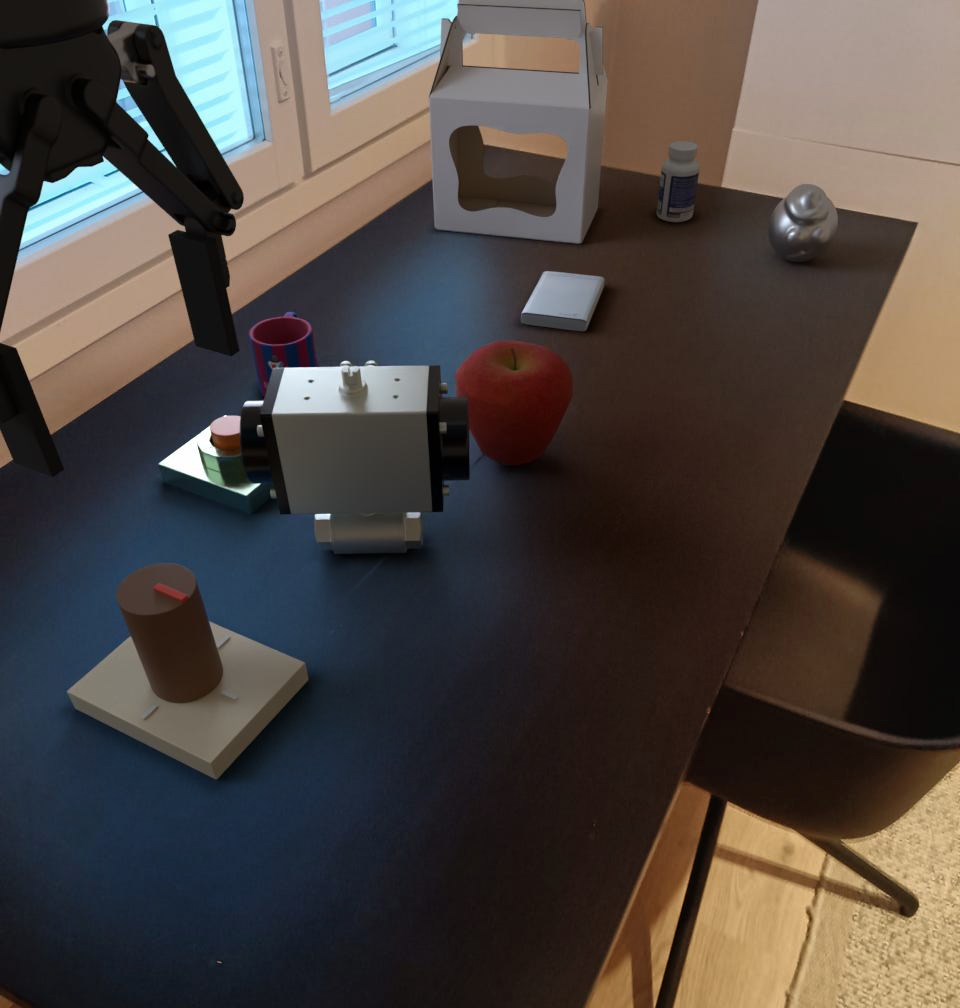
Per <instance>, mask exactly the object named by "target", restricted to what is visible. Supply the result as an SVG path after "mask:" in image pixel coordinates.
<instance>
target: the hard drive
mask: <svg viewBox="0 0 960 1008" xmlns="http://www.w3.org/2000/svg"><path fill="white" fill-rule="evenodd" d="M604 288H605V277H603V276H598V275H591V274H590V275H589V274H581V273H571V272H562V271H552V270H551V271H550V270H546V271H542V274H541V276H540V277H539V279H538V282H537V284H536V286H535V287H534V289H533V291H532V292H531V295H530V297H529V299H528V300H527V301H526V304H525V306H524V307H523V310H522V311H521V315H520V322H521V323H522V324H524V325H527V326H528V325H529V326H534V327H535V326H536V327H546V328H551V329H559V330H567V331H574V332H586V331H587V329H588V327H589V325H590V322H591V320H592V317H593V314H594V313H595V310H596V307H597V305H598V302H599V300H600V298H601V295H602V292H603V291H604Z"/></svg>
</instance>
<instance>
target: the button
mask: <svg viewBox="0 0 960 1008" xmlns="http://www.w3.org/2000/svg"><path fill="white" fill-rule="evenodd" d="M223 416H224V417H223ZM223 416H221V417H218V418H217V419H215V420H213V421H212V422H211V423H210V425H209V426H210V432H211V436H212V440H213V444H214V446H215V447H216V448H218V449H221V450H234V449H237V448H240V417H241V415H233V414H232V415H226V416H225V415H223Z"/></svg>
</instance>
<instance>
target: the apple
mask: <svg viewBox="0 0 960 1008" xmlns="http://www.w3.org/2000/svg"><path fill="white" fill-rule="evenodd" d="M454 377H455V397H467V398H468V406H469V433H470V434H471V436H472V438H473V439H474V441H475V443H476V445H477V447H478V448H479V450H480V452H481V453H482V454H483V455H484V456H486V457H487V458H489V459H491V460H492V461H494V462H496V463H498V464H501V465H504V466H512V467H513V466H514V467H515V466H522V465H525V464H528V463H530V462H533V461H535V460H537V459H538V458H539V457H540V456H542V455H543V454H544V453H545V451H546V450H547V449H548V447H549V444H550V443H551V441H552V440H553V438H554V437H555V435H556V433H557V432H558V429H559V427H560V425H561V423H562V421H563V419H564V416H565V415H566V413H567V410H568V408H569V406H570V403H571V400H572V398H573V396H574V388H573V387H574V386H573V385H574V384H573V375H572V372H571V369H570V367H569V364H568V363H567V362H566V361H565V360H564V359H563V358H562V357H561V356H560V355H559V354H558V353H556V352H555V351H553V350H552V349H550V348H549V347H547V346H543V345H539V344H536V343H531V342H525V341H520V340H497V341H494V342H491V343H488V344H485V345H483V346H481V347H480V348H478V349H476V350H475V351H473V352H471V354H470V355H468V356H467V358H465V360H464V361H463V362H462V363H461V365H460V366H459V368H458V369H457V370H456V372H455V373H454Z"/></svg>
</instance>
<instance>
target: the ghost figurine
mask: <svg viewBox="0 0 960 1008" xmlns="http://www.w3.org/2000/svg"><path fill="white" fill-rule="evenodd" d="M838 227H839V216H838V212H837V208H836V206H835V204H834V203H833V201H832V200H831V199H830V197H829V196H827V194H826V192H825V190H824V189H822V188H821V187H819V186H818V185H815V184H811V183H803V184H802V183H801V184H799V185H797V186H795V187H794V188H793V189H792V190H791V191H789V193H788V194H787V195H786V196H785V197H784V198H783V199H782V200H780V201H779V202H778V204H777V205H776V207H774V209H773V210H772V213H771V215H770V217H769V220H768V226H767V234H768V241H769V244H770V245H771V248H772V249H773V251H774V252H775V253H776V254H777V255H778V256H779V257H781V259H784V260H786V261H788V262H793V263H805V262H808V261H812V260H814V259H816V258H818V257H819V256H820V255H822V254H823V253H825V251H826V250H827V249H828V248H830V246H831V245H832V243H833V241H834V239H835V237H836V234H837V231H838Z"/></svg>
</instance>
